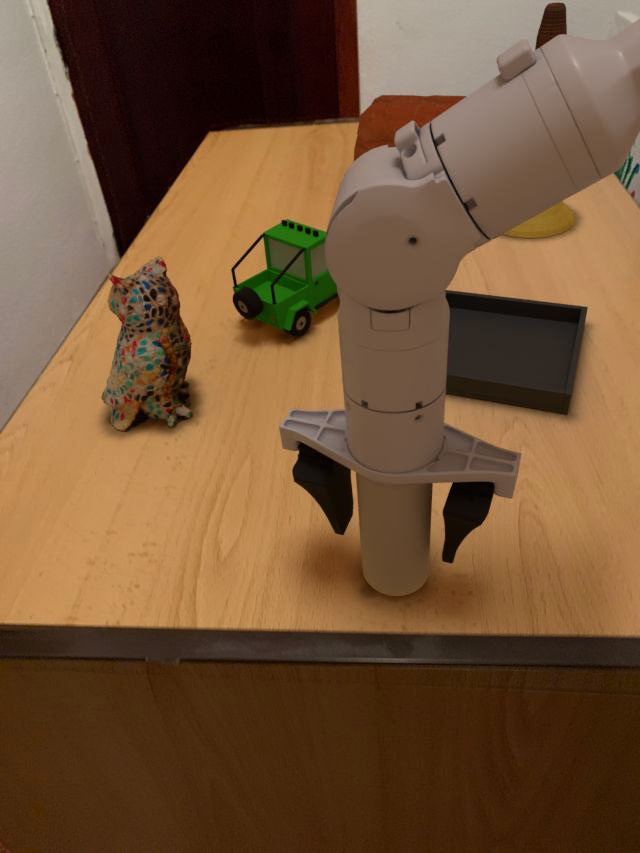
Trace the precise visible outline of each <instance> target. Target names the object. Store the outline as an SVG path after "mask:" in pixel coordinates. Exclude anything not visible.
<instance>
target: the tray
mask: <svg viewBox="0 0 640 853" xmlns="http://www.w3.org/2000/svg"><path fill="white" fill-rule="evenodd" d="M445 298H446V300H447V302H448V305H449V309H450V321H449V338H448V357H447V376H446V395H453V396H459V397H465V398H471V399H477V400H481V401H486V402H487V401H488V402H493V403H499V404H505V405H512V406H517V407H523V408H529V409H534V410H539V411H545V412H551V413H557V414H563V415H568V414H569V410H570V405H571V401H572V395H573V391H574V385H575V381H576V380H575V379H576V374H577V370H578V363H579V358H580V353H581V348H582V341H583V336H584V332H585V326H586V319H587V315H588V314H587V313H588V308H589V307H588V306H583V305H575V304H569V303H560V302H559V303H558V302H550V301H543V300H535V299H525V298H517V297H508V296H499V295H493V294H484V293H475V292H468V291H458V290H451V289H449V290H448V289H446V291H445Z"/></svg>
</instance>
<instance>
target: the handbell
mask: <svg viewBox="0 0 640 853" xmlns="http://www.w3.org/2000/svg"><path fill="white" fill-rule="evenodd" d="M567 25H568V24H567V6H566V4H565V3H564V2H550V3H548V4H547V5H546V6H545V8H544V10H543V14H542V18H541V20H540V24H539V28H538V30H537V31H538V32H537V33H536V34H537V35H536V39H535V47H534V51H535V50H537V49H538V48H540V47H541V46H543V45H544V44H546V43H547V42H549V41H550V40H552V39H553V38H554V37H556V36H558V35H561V34H564V35H568V26H567ZM575 223H576V215H575V213H574V212H573V210H572V209H571V207H569V205H567V204H566V203H565V202H564V201H562V202H560V203H558V204H556V205H554V206H553V207H551V208H549V209H547V210H545V211H544V212H542V213H540V214H538V215H536V216H535V217H533V218H531V219H529V220H527V221H525V222H524V223H522V224H520V225H518V226H516V227H515V228H513V229H511V230H509V231H507V232H506V233H504V234H502V235H504V236H509V237H513V238H525V239H537V238H538V239H540V238H548V237H553V236H557V235H561V234H562V233H564V232H567V231H568V230H570V229H571V228H572V227H573V226H574V225H575Z"/></svg>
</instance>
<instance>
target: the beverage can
mask: <svg viewBox="0 0 640 853" xmlns="http://www.w3.org/2000/svg"><path fill="white" fill-rule="evenodd" d="M355 480H356V495H357V496H356V497H357V509H358V510H357V512H358V523H359V524H358V525H359V526H358V527H359V540H360V541H359V542H360V555H361V567H362V574H363V577H364V579H365V581H366V582H367V583H368V585H369V586H370V587H371V588H372V589H373V590H375V591H377V592H378V593H380V594H384V595H386V596H390V597H391V596H392V597H402V596H407V595H410V594H413V593H415V592H416V591H418V590H419V589H421V588H422V587H423V586H424V584H425V583H426V582H427V580H428V578H429V574H430V558H431V557H430V554H431V532H432V531H431V529H432V512H433V511H432V510H433V509H432V508H433V490H434V488H433V486H434V483H420V484H385V483H380V482H375V481H373V480H370V479H367V478H365V477H363V476H362V475H360V474H358V473H356V472H355Z"/></svg>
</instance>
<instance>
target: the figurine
mask: <svg viewBox="0 0 640 853" xmlns="http://www.w3.org/2000/svg"><path fill="white" fill-rule="evenodd" d="M167 272H168V268H167V264H166V262H165V260H164V258H163V257H161V256H159V255H156V256H155V257H154V259H150V260H149V261H148V262H147V263H145V264H143V265H141V266H140V268H139V269H138V270H136V271H135V272H134V273H132V274H129V275H127V276H126V277H120V276H116V275H114V274H111V273H110V272H109V273H108V274H107V275H108V280H109V281H110V282H111V283H112V285H111V288H109V289H110V290H109V293H108V298H107V304H108V309H109V311H110V312H111V313H112V314H114V315H115V316H116V317H117V319H118V320H119V321H120V323H121V325H120V330H119V332H118V336H117V339H116V346H115V347H114V348H115V350H114V354H113V358H112V362H111V368H110V369H109V373H108V374H109V375H108V378H107V380H106V385H105V387H104V389H103V391H102V394H101V397H100V399H101V400H102V402H103V404H104V405H106V406H108V407H110V408H111V409H110V411H109V414H110V417H109V422H110V423H111V425H112V426H113V427H114V429H115V430H116V431H121V432H127V431H130V430H132V429H133V428H135V427H136V426H139V425H141V424H143V423H146V422H147V421H148V420H158V419H159V420H160V419H161V420H166V425H167V426H168V427H171V428H172V427H175V425H177V422H178V421H181V420H188V419H189V418H191V417H193V416H194V412H192V409H190V408H189V407H190V406H191V402H190V399H189V398H191V394H190V392H189V391H188V390H187V389H186V388H188V387H189V386H190V383H189V382H188V381H187V380H186V378H187V374H188V373H187V372H188V367H189V365H190V361H191V360H192V344H193V343H192V339H191V334H190V332H189V330H188V327H187V326H186V325H185V323H184V321H183V318H182V316H181V301H180V295H179V292H178V289H177V288H176V287H175V285H173V284H172V281H171V279H170V278H169V276H167Z"/></svg>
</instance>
